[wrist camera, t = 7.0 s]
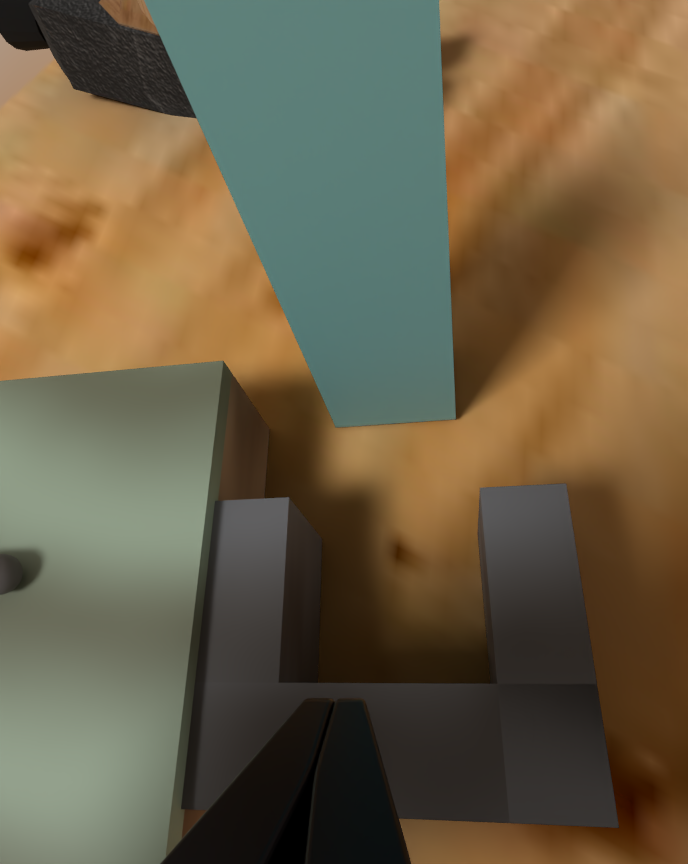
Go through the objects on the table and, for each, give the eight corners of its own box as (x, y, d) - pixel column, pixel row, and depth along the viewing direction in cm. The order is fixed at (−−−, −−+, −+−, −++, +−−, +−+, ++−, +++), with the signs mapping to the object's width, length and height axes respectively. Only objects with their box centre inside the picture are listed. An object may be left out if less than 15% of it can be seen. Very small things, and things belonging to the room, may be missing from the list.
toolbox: (590, 856, 14) (652, 924, 10) (-307, 811, 19) (-575, 841, 14) (530, 411, 20) (551, 307, 15) (-164, 459, 24) (-324, 392, 19)
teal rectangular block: (455, 419, 20) (425, -317, 6) (336, 427, 20) (47, -215, 6) (449, 342, 21) (414, -414, 7) (337, 352, 22) (100, -319, 8)
